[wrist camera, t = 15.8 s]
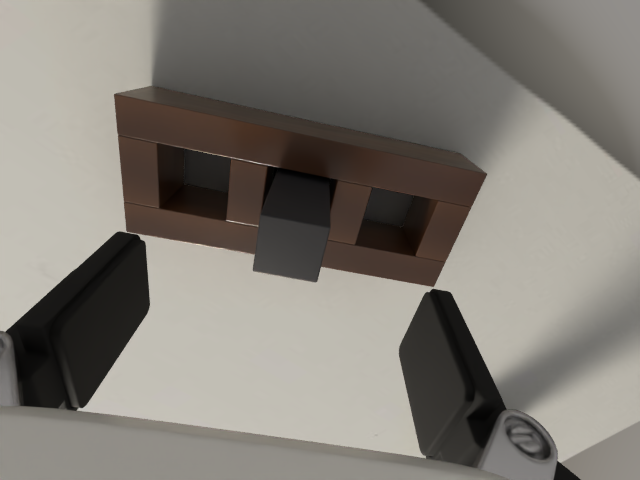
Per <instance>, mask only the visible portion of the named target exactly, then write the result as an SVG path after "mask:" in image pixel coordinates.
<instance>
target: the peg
mask: <svg viewBox="0 0 640 480" xmlns="http://www.w3.org/2000/svg"><path fill="white" fill-rule="evenodd" d="M330 229H331V221H330V188H329V178H327V177H322V176H318V175H313V174H308V173H303V172H298V171H293V170H288V169H283V168H278V170H277V173H276V175H275V178H274V180H273V183H272V185H271V188H270V190H269V193H268V196H267V198H266V201H265V203H264V206H263V208H262V211H261V213H260V219H259V227H258V234H257V242H256V249H255V257H254V265H253V271H254V272H259V273H265V274H270V275H276V276H282V277H287V278H293V279H299V280H304V281H310V282H317V280H318V276H319V272H320V268H321V264H322V260H323V256H324V253H325V249H326V245H327V241H328V237H329V233H330Z"/></svg>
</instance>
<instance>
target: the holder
mask: <svg viewBox="0 0 640 480" xmlns="http://www.w3.org/2000/svg"><path fill="white" fill-rule="evenodd" d="M114 98H115V109H116V120H117V131H118V141H119V152H120V163H121V174H122V185H123V196H124V201H125V202H124V208H125V219H126V230H127V232H131V233H136V234H142V235H148V236H153V237H159V238H164V239H170V240H175V241H181V242H186V243H192V244H198V245H203V246H209V247H214V248H220V249H225V250H231V251H237V252H242V253H248V254H253V255H255V249H256V242H257V234H258V227H259V219H260V213H261V211H262V208H263V206H264V203H265V201H266V198H267V196H268V193H269V190H270V188H271V185H272V180H273V173H274V167H278V168H283V169H288V170H293V171H298V172H303V173H308V174H313V175H318V176H322V177H327V178H331V181H330V185H329V188H330V221H331V229H330V233H329V237H328V241H327V245H326V249H325V253H324V256H323V260H322V264H321V267H326V268H331V269H337V270H342V271H348V272H353V273H359V274H365V275H370V276H376V277H381V278H387V279H392V280H398V281H403V282H409V283H415V284H420V285H426V286H431V287H434V285H435V283H436V281H437V279H438V277H439V275H440V273H441V271H442V268H443V266H444V264H445V262H446V260H447V258H448V256H449V254H450V252H451V249H452V247H453V245H454V243H455V241H456V239H457V237H458V235H459V232H460V230H461V228H462V226H463V224H464V222H465V220H466V218H467V216H468V213H469V211H470V209H471V207H472V205H473V203H474V201H475V199H476V197H477V194H478V192H479V190H480V188H481V186H482V184H483V182H484V180H485V178H486V175H487V174H486V173H485V172H484V171H483V170H481V169H480V168H479V167H477V166H476V165H475V164H474V163H472V162H471V161H470V160H468V159H467V158H466V157H464V156H463V155H462V154H460V153H455V152H451V151H446V150H442V149H437V148H433V147H428V146H423V145H419V144H414V143H410V142H405V141H401V140H396V139H391V138H387V137H382V136H378V135H373V134H369V133H364V132H360V131H355V130H350V129H346V128H341V127H337V126H332V125H328V124H323V123H318V122H314V121H309V120H305V119H300V118H296V117H291V116H286V115H282V114H277V113H273V112H268V111H264V110H259V109H254V108H250V107H245V106H241V105H236V104H232V103H227V102H222V101H218V100H213V99H209V98H204V97H200V96H195V95H191V94H186V93H181V92H177V91H172V90H168V89H163V88H159V87H154V86H149V87H144V88H139V89H135V90H130V91H126V92H121V93H116V94H114ZM184 149H190V150H195V151H200V152H205V153H210V154H215V155H220V156H225V157H229V158H231V164H230V177H229V190H228V193H226V192H221V191H216V190H210V189H205V188H200V187H195V186H190V185H185V184H184ZM372 187H376V188H381V189H386V190H391V191H396V192H401V193H406V194H410V195H414V197H413V200H412V202H411V205H410V208H409V210H408V213H407V216H406V218H405V221H404V224H403V227H400V226H395V225H390V224H385V223H380V222H375V221H369V220H364V219H363V217H364V214H365V210H366V207H367V204H368V200H369V197H370V194H371V191H372Z"/></svg>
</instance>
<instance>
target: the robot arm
mask: <svg viewBox="0 0 640 480" xmlns="http://www.w3.org/2000/svg"><path fill="white" fill-rule="evenodd" d="M149 306H150V299H149V286H148V272H147V258H146V245H145V242H144V241H143V240H140V237H139V236H138V235H136V234H130V233H125V232H117V233H115V234H114V235H113V236H112V237H111V238H110V239H109V240H108V241H106V242H105V243H104V244H103V245H102V246H101V247H100V248H99V249H98V250H97V251H95V252H94V253H93V254H92V255H91V256H90V257H89V258H88V259H87V260H86V261H84V262H83V263H82V264H81V265H80V266H79V267H78V268H77V269H75V270H74V271H72V272H71V273H70V274H69V275H68V276H67V277H66V278H64V279H63V280H62V281H61V282H60V283H59V284H58V285H57V286H56V287H55V288H53V289H52V290H51V291H50V292H49V293H48V294H47V295H46V296H45V297H43V298H42V299H41V300H40V301H39V302H38V303H37V304H36V305H35V306H34V307H32V308H31V309H30V310H29V311H28V312H27V313H26V314H25V315H24V316H22V317H21V318H20V319H19V320H18V321H17V322H16V323H15V324H14V325H13V326H11V327H10V328H9V329H8V330H7V331H6V332H4V331H0V480H580V479H579V478H578V477H577V476H576V475H574V474H573V473H572V472H570V471H569V470H568V469H567V468H566V467H565V466H563V465H562V464H561V463H560V462H558V461H557V459H558V451H557V448H556V445H555V443H554V441H553V439H552V438H551V436H550V434H549V433H548V432H547V431H546V429H545V428H544V427H543V426H542V425H541V424H540V423H539V422H537V421H536V420H535V419H534V418H532V417H531V416H529V415H527V414H526V413H524V412H521V411H518V410H513V409H506V407H505V405H504V402H503V400H502V398H501V396H500V393H499V391H498V389H497V387H496V385H495V383H494V381H493V379H492V377H491V375H490V373H489V371H488V369H487V366H486V364H485V362H484V360H483V358H482V356H481V354H480V352H479V350H478V348H477V346H476V344H475V341H474V339H473V337H472V335H471V333H470V331H469V329H468V327H467V325H466V323H465V321H464V319H463V316H462V314H461V312H460V310H459V308H458V306H457V304H456V302H455V300H454V298H453V296H452V294H451V293H450V292H448V291H442V290H437V289H432V290H431V291H430V293H429V292H426V293H425V294H424V296H423V298H422V300H421V302H420V305H419V307H418V309H417V311H416V313H415V315H414V317H413V319H412V321H411V323H410V325H409V328H408V330H407V332H406V334H405V336H404V338H403V340H402V342H401V344H400V348H399V357H400V362H401V366H402V371H403V375H404V380H405V384H406V389H407V393H408V398H409V402H410V407H411V411H412V416H413V420H414V425H415V429H416V434H417V439H418V443H419V448H420V451H421V453H422V454H423V455H426V459H425V458H419V457H413V456H407V455H401V454H394V453H387V452H380V451H373V450H366V449H359V448H352V447H345V446H338V445H331V444H324V443H317V442H310V441H303V440H296V439H288V438H281V437H274V436H267V435H259V434H252V433H245V432H237V431H230V430H223V429H216V428H208V427H201V426H193V425H186V424H178V423H170V422H163V421H155V420H148V419H140V418H133V417H125V416H117V415H109V414H100V413H91V412H83V411H77V409H78V408H83V407H84V406H86V405H87V403H88V402H89V400H90V399H91V397H92V396H93V394H94V393H95V391H96V390H97V388H98V387H99V385H100V384H101V382H102V381H103V379H104V378H105V376H106V375H107V373H108V372H109V370H110V369H111V367H112V366H113V364H114V363H115V361H116V360H117V358H118V357H119V355H120V354H121V352H122V351H123V349H124V348H125V346H126V345H127V343H128V342H129V340H130V339H131V337H132V336H133V334H134V333H135V331H136V330H137V328H138V327H139V325H140V324H141V322H142V321H143V319H144V318H145V316H146V314H147V313H148V310H149Z"/></svg>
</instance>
